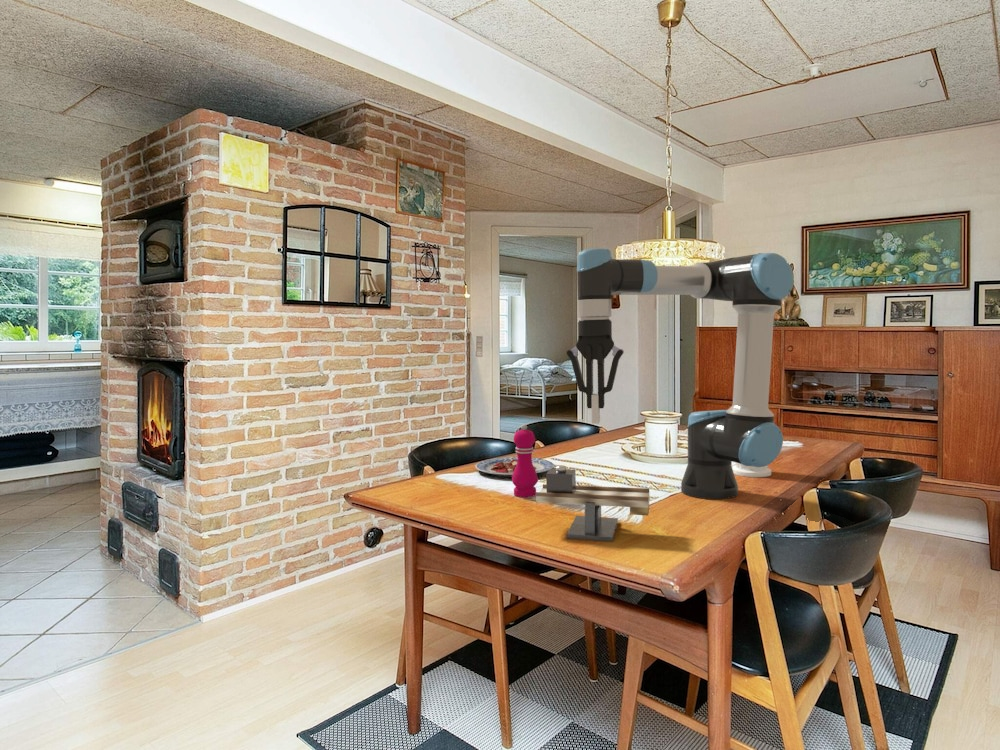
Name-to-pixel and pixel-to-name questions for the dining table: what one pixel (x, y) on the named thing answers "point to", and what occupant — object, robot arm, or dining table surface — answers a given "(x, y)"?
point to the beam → (601, 497)
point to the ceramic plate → (510, 466)
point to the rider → (561, 480)
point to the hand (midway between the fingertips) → (595, 422)
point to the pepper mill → (524, 464)
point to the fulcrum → (593, 525)
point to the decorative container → (751, 470)
